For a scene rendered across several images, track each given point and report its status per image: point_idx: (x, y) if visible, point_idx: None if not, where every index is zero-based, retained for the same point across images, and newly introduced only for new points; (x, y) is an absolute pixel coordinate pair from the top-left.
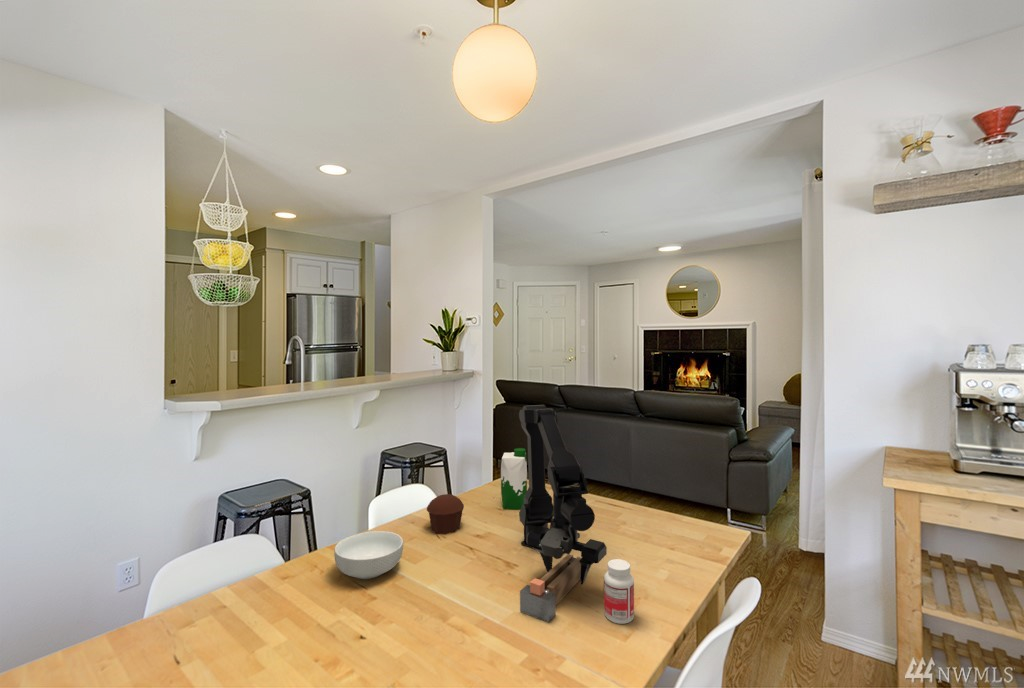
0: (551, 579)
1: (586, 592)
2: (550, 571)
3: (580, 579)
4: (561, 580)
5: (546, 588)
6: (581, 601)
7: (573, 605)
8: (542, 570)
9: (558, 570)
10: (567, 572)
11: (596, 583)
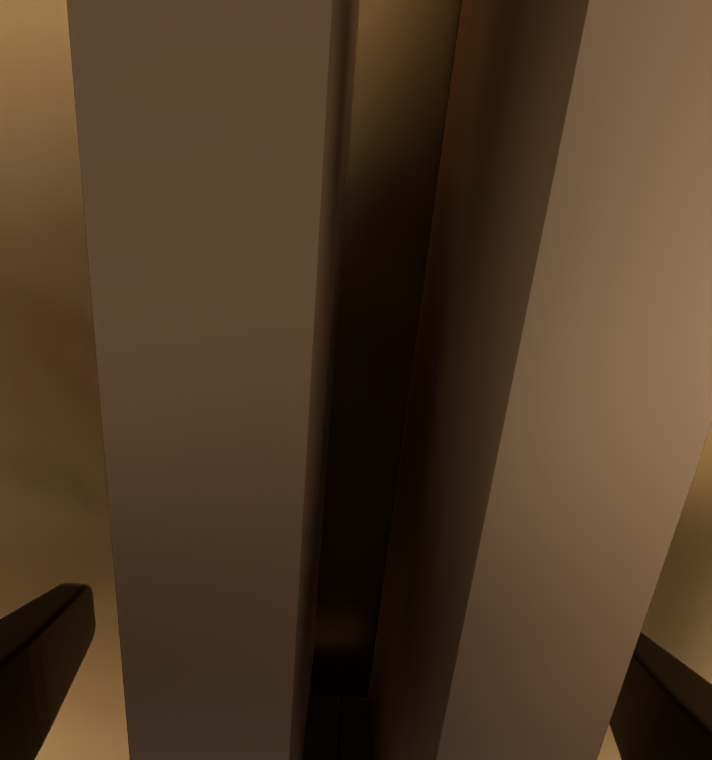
0: (489, 280)
1: (64, 527)
2: (632, 512)
3: (28, 639)
4: (97, 192)
5: (507, 2)
6: (9, 321)
7: (46, 173)
8: None
9: (440, 672)
10: (148, 661)
11: (64, 715)
